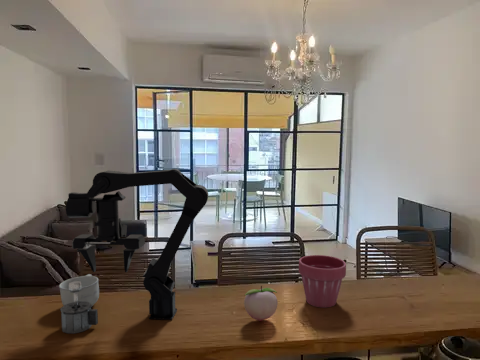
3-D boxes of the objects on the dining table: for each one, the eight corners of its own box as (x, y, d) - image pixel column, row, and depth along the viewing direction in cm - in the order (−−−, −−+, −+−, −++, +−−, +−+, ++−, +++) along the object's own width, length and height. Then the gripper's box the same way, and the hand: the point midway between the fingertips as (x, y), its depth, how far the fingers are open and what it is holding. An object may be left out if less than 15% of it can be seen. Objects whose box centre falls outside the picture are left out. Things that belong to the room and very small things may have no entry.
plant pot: (355, 304, 120) (356, 263, 119) (322, 315, 113) (323, 271, 111) (320, 289, 132) (321, 252, 131) (288, 299, 124) (289, 259, 123)
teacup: (86, 316, 112) (85, 289, 111) (52, 313, 114) (50, 286, 114) (111, 297, 126) (110, 273, 125) (80, 295, 128) (79, 270, 127)
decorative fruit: (254, 331, 103) (254, 294, 102) (239, 319, 110) (239, 284, 109) (284, 323, 107) (284, 288, 106) (268, 312, 115) (268, 278, 114)
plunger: (88, 308, 107) (87, 280, 107) (80, 316, 103) (79, 286, 102) (72, 308, 108) (71, 279, 107) (63, 315, 103) (62, 286, 102)
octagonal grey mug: (102, 321, 109) (102, 302, 108) (91, 334, 102) (90, 313, 101) (70, 320, 110) (69, 301, 109) (56, 332, 102) (55, 312, 102)
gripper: (149, 211, 117) (151, 263, 118) (88, 211, 118) (91, 262, 120) (137, 218, 106) (139, 275, 107) (69, 218, 107) (72, 275, 109)
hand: (110, 271), depth 111 cm, fingers open, 9 cm apart
